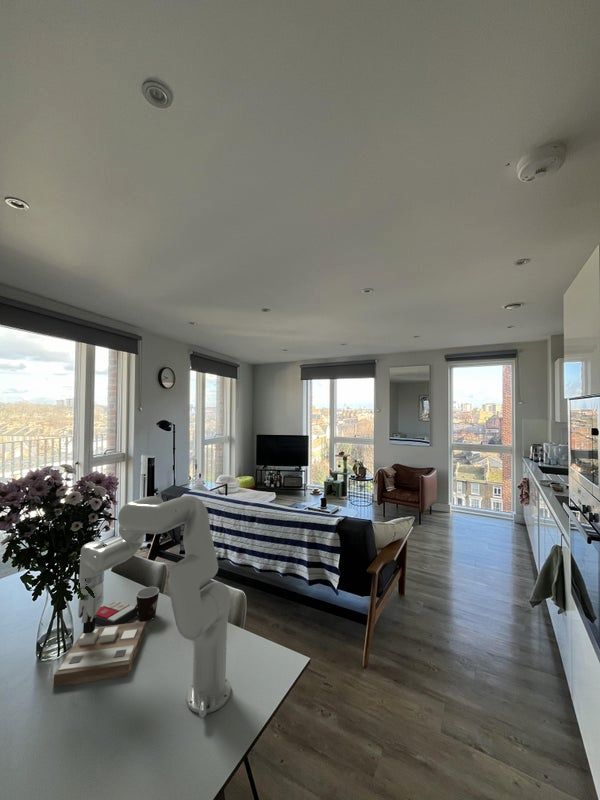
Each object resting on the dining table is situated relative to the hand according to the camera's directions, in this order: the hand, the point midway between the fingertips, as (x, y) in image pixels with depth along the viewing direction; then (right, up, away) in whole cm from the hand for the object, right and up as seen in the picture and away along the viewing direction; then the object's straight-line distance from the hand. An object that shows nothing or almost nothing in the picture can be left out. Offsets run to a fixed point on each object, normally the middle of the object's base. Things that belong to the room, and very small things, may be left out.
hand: (89, 631), depth 114 cm
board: (+7, -6, -3) cm, 10 cm away
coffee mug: (+11, -8, +17) cm, 22 cm away
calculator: (-2, -8, +18) cm, 19 cm away
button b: (+6, -4, +1) cm, 8 cm away
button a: (+13, -6, +3) cm, 14 cm away
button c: (0, -4, 0) cm, 4 cm away
